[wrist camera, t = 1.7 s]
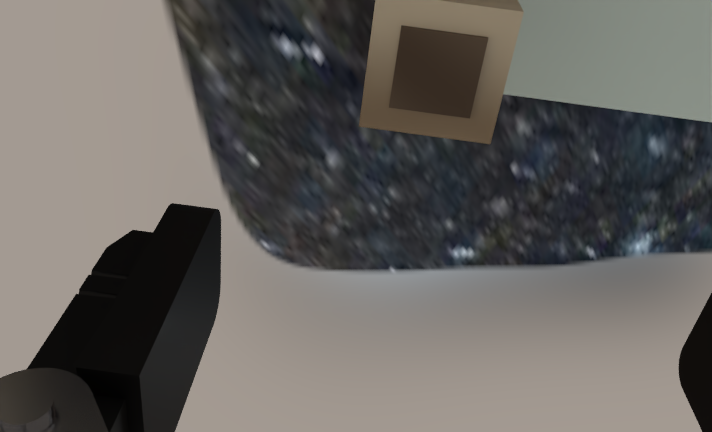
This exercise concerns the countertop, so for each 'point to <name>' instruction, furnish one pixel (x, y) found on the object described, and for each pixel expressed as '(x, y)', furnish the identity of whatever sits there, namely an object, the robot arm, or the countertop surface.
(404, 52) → the beech block
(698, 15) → the flat grey rectangular slab
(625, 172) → the countertop surface
